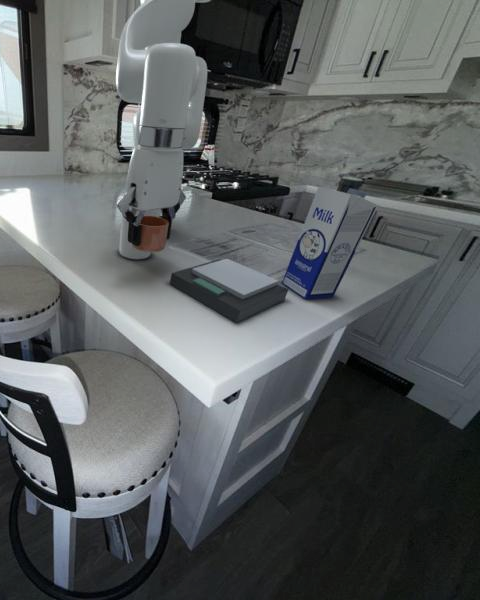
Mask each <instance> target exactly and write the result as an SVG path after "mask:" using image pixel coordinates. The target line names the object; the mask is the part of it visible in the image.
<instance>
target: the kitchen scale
mask: <svg viewBox="0 0 480 600" xmlns="http://www.w3.org/2000/svg"><path fill="white" fill-rule="evenodd" d="M279 281H280V280H278V279H277V278H276V279H275V278H273V277H271V276H268V275H266V274H264V273H262V272H260V271H257V270H255V269H252V268H250V267H248V266H245V265H244V264H241V263H238V262H236V261H233V260H231V259H229V258H224V259H220V258H219V259H215V260H212V261H208V262H205V263H201V264H198V265H195V266H191V267H188V268H184V269H179V270H177V271H173V272H171V275H170V279H169V284H170V285H171V286H172V287H174V288H176V289H178V290H179V291H181V292H183V293H185V294H186V295H188V296H190V298H193V299H194V300H196V301H198V302H200V303H201V304H203V305H205V306H206V307H208V308H210V309H212V310H213V311H215V312H216V313H218V314H220V315H222V316H223V317H225V318H227V319H228V320H230V321H232V322H233V323H235V324H238V323H240V322H241V321H243V320H245V319H248V318H250V317H252V316H254V315H256V314H258V313H260V312H263V311H265V310H267V309H269V308H271V307H273V306H275V305H278V304H280V303H281V302H284V301H285V300H286V297H287V294H288V292H289V290H290V289H289V288H288V287H286V286H282V285H280V284H279Z"/></svg>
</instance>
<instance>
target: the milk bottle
mask: <svg viewBox="0 0 480 600" xmlns="http://www.w3.org/2000/svg"><path fill="white" fill-rule="evenodd" d="M128 208H129V210H130V208H131V206H128ZM137 212H138V211H136V213H135V217H136V215H137ZM155 213H156V210H149V211H145V213H144V216H155ZM120 219H121V220H120V234H119V249H118V251H119V254H120V255H121V256H122V257H123V258H126V259H129V260H145V259H147V258H149V257H150V256H151V254H152V252H145V251H141V250H138V249H135V248H134V247H132V245H131V243H130V242H128V226H129V222H127V221H126V219H125V218H124V217H123V215H122V214H121V218H120Z"/></svg>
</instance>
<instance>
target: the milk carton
mask: <svg viewBox="0 0 480 600" xmlns="http://www.w3.org/2000/svg"><path fill="white" fill-rule="evenodd" d="M336 190H337V189H331V188H328V187H324V186H320V185H318V186H317V190H316V191H315V195H314V198H313V200H312V203H311V204H310V208H309V211H308V213H307V217H306V218H305V221H304V223H303V226H302V229H301V231H300V234H299V237H298V240H297V242H296V245H295V247H294V250H293V252H292V255H291V257H290V260H289V263H288V266H287V268H286V271H285V273H284V276H283V279H282V280H281V284H282V285H284V287H285V288H287V289H289V290H290V291H293V292H294V293H295V294H296V295H298V296H300V297H301V298H303V300H314V299H315V300H316V299H327V298H334V296H335V294H336V292H337V290H338V288H339V286H340V284H341V283H342V280H343V279H344V276H345V274H346V272H347V270H348V268H349V265H350V264H351V262H352V260H353V258H354V256H355V253H356V252H357V249H358V247H359V246H360V243H361V241H362V240H363V237H364V235H365V233H366V231H367V229H368V227H369V225H370V223H371V221H372V219H373V217H374V215H375V213H376V211H377V208H378V207H379V204H377V203H375V202H372V201H370V200H369V199H366V196H367V195H368V193H366V192H364V191H361V190H359V189H358V190H355V189H351V188H349V190H348V191H347V193H344V192H340V191H336Z"/></svg>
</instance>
